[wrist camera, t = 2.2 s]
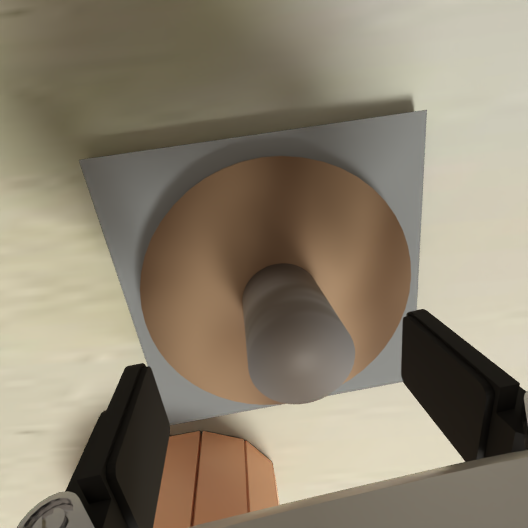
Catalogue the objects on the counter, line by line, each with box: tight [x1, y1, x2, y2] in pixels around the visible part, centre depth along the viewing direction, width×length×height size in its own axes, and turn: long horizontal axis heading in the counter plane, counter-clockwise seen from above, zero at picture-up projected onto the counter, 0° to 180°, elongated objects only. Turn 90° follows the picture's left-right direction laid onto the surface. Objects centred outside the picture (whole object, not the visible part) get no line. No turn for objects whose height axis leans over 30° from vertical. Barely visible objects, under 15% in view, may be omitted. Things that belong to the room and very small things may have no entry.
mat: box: [79, 110, 427, 425], centre depth 17 cm, size 16×16×1 cm
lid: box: [140, 156, 411, 405], centre depth 14 cm, size 14×14×6 cm
